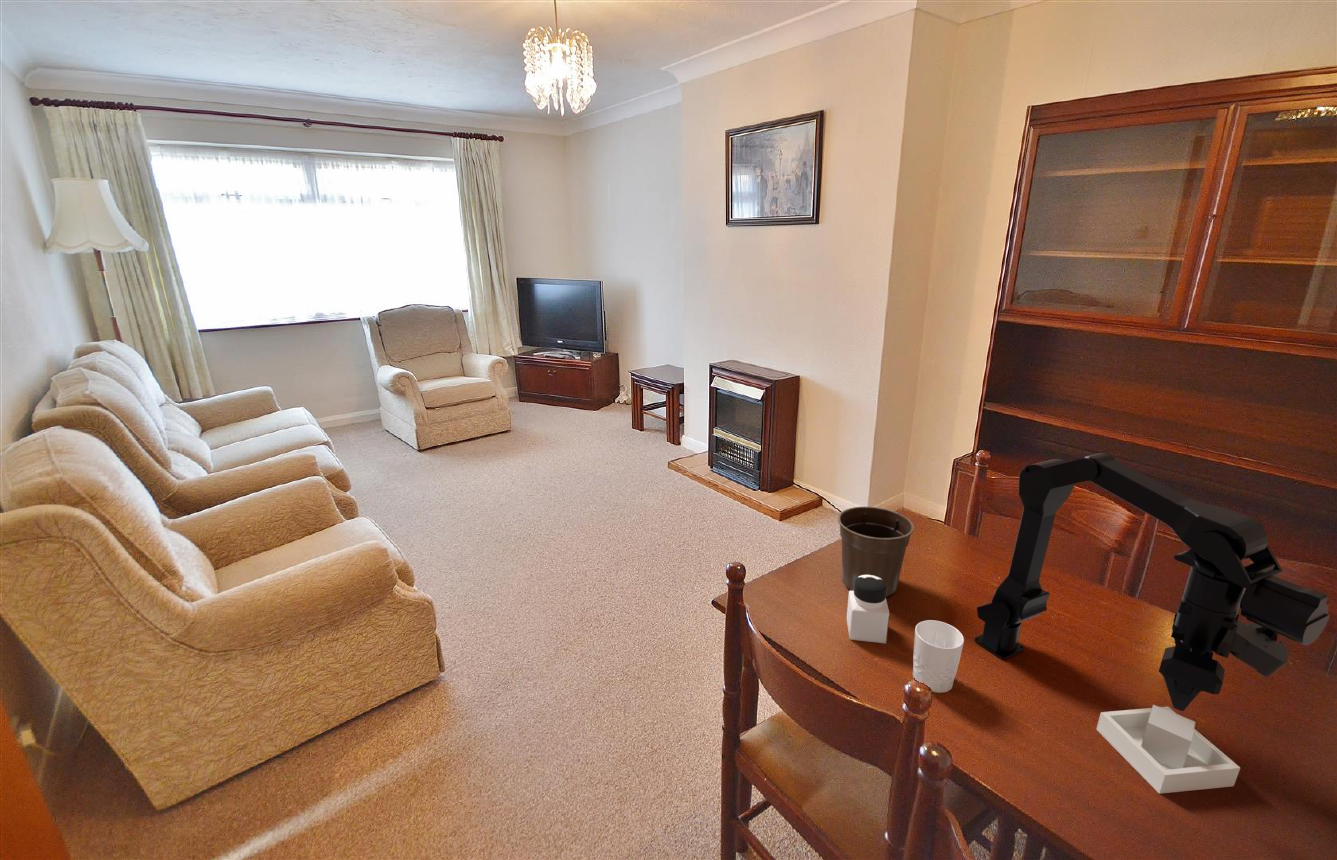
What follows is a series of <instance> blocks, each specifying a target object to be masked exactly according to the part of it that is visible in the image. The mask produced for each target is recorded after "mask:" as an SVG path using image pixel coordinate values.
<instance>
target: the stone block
mask: <svg viewBox="0 0 1337 860" xmlns="http://www.w3.org/2000/svg"><path fill="white" fill-rule="evenodd" d="M1161 707H1162V706H1158V705H1156V704H1152V707H1151V708H1152V710H1151V714H1150V717H1149V720H1148V724H1147V727H1146V730H1145V734H1144V737H1143V741H1142V744H1141V747H1142V748H1143V749H1144V750H1146V751H1147V752H1148V753H1149V754H1150V755H1151V756H1152V757H1153V758H1154V759H1155V760H1156V761H1157V762H1158V763H1161V764H1163V765H1165V766H1167V767H1169V768H1171V769H1179V768H1183V766H1184V763H1185V760H1186V757H1187V754H1188V751H1189V748H1190V745H1191V742H1192V737H1193V732H1194V729H1195V727H1196V721H1194V720H1192V719H1189V718H1187V717H1184V716H1183V715H1180V714H1178V713H1176V712H1175V713H1176V714H1175V713H1173V712H1170V711H1168V710H1165V709H1163V708H1161ZM1177 714H1178V715H1177Z"/></svg>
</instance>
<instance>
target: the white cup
mask: <svg viewBox="0 0 1337 860" xmlns="http://www.w3.org/2000/svg"><path fill="white" fill-rule="evenodd" d="M964 643H965V637H964V636H963V634H962V632H961V631H960V630H959V629H957V628H956V627H955V626H953V625H951V624H948V623H947V622H944V621H940V620H933V619H932V620H931V619H927V620H924V621H923V620H922V621H919V622H918V623H917V624H916V625H915V629H914V641H913V656H912V658H913V659H912V660H913V662H912V663H913V665H912V666H913V669H912V677H913V679H914V678H915V680H917V681H919V682H921V683H924V684H925V685H927V686H928V687H930V688H931V689H932V691H933V692H932V691H931V692H932V693H938V694H941V693H947V692H949V691H950V690H951V689H953V685H954V680H955V677H956V676H957V672H958V668H959V663H960V660H961V656H962V651H963V647H964ZM915 680H914V681H915Z"/></svg>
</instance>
